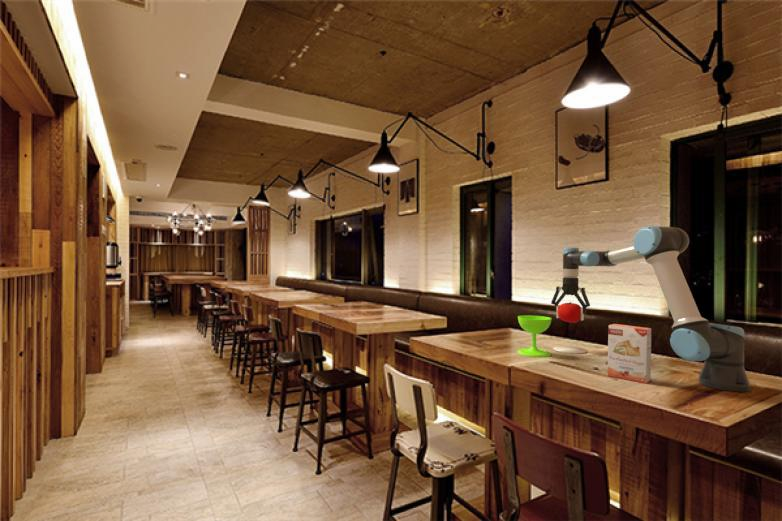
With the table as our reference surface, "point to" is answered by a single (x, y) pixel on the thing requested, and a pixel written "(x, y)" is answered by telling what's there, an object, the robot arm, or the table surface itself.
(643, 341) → the cracker box
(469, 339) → the table surface
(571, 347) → the plate
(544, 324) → the wineglass
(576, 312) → the tomato
